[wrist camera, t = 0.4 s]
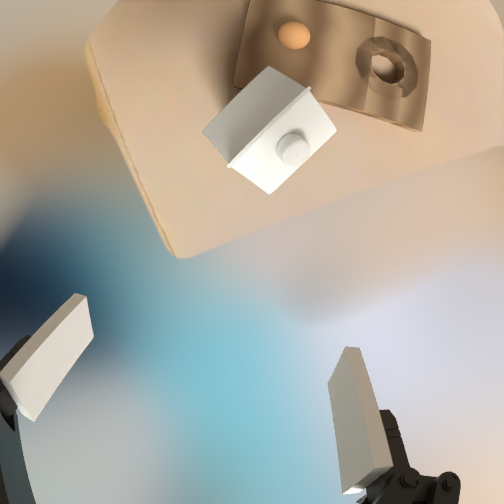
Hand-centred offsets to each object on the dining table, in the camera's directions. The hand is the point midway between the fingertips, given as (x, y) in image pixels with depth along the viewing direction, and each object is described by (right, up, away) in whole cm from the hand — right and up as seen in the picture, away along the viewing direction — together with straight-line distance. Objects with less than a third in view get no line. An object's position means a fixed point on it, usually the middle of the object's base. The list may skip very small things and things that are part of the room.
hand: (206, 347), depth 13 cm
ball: (+7, +29, +12) cm, 32 cm away
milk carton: (+4, +19, +20) cm, 28 cm away
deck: (+13, +29, +16) cm, 35 cm away
